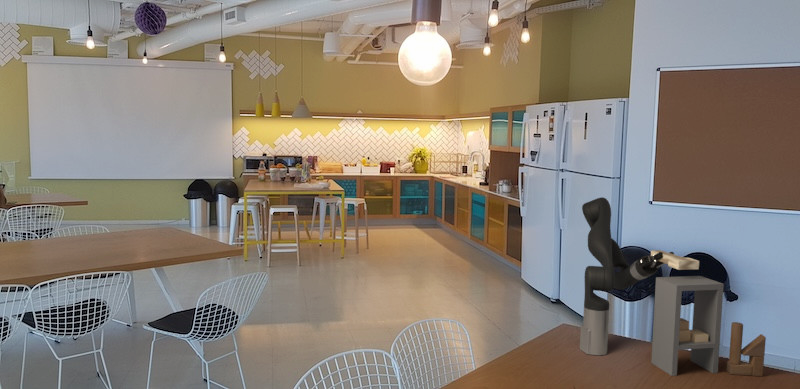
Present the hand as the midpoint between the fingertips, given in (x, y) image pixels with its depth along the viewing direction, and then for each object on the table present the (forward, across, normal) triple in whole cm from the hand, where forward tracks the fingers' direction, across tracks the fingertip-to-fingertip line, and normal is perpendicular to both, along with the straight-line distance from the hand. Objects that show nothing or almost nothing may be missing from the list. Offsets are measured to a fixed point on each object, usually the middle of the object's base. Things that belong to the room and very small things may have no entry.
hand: (667, 254), depth 224 cm
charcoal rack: (-8, 0, +40) cm, 41 cm away
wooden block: (-1, +18, +44) cm, 48 cm away
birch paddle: (+1, 0, +4) cm, 4 cm away
